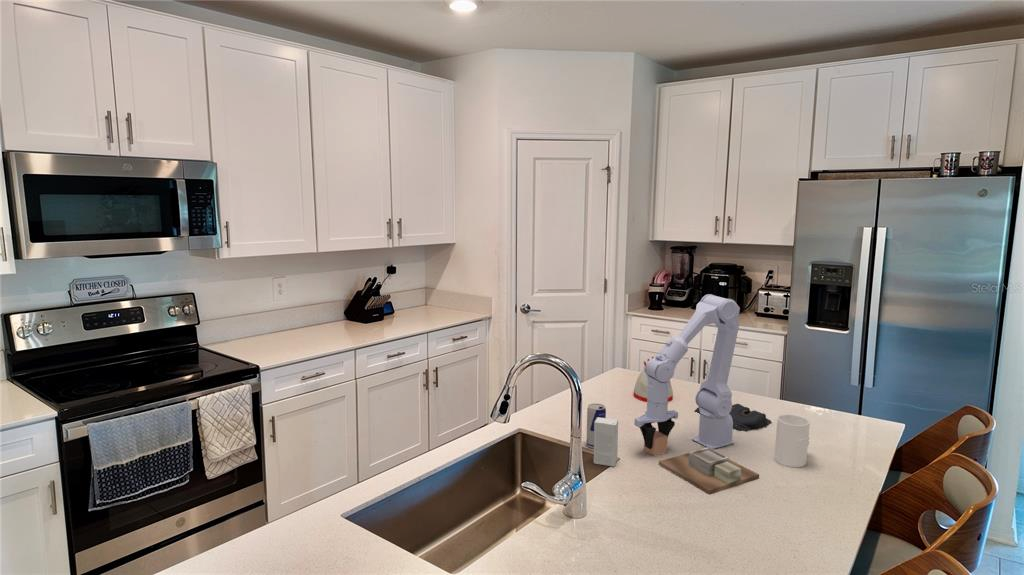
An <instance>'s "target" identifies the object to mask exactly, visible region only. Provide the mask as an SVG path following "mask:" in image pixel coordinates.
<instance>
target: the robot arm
mask: <svg viewBox="0 0 1024 575" xmlns="http://www.w3.org/2000/svg"><path fill="white" fill-rule="evenodd" d="M740 310H741V308H740V306H739V305H738V304H737V302H736V301H735V300H734V299H731V298H725V297H721V296H717V295H714V294H712V293H711V294H710V293H709V294H705V295H704V296H702V298H701V299H700V301H698V303H697V304H696V308H695V311H694V313H693V314H692V315H691V317H690V318H689V320H688V321H687V323H686V324H685V326H684V327H683V329H682V330H681V331H680V333H679V334H678V336H675V337H671V338H670V339H668V340H666V341H665V345H664V346H663V347H662V349H661V350H660V351H659V352H658V353H657V354H656V355H655V357H654V358H653V359H652V358H650V359H649V361H648V360H647V362H646V367H645V366H644V367H643V370H644V371H645V373H646V375H647V381H648V391H647V402H646V411H645V412H644V414H642V415H640V416H638V417H635V418H634V423H633V424H634V426H635V427H638V428H639V429H640V432H641V434H642V435H641V436H642V438H643V443H644V442H645V447H647V448H649V449H652V446H653V437H654V433H655V431H658V432H660V433H662V434H664V435H666V436H667V440H668V438H669V435H670V434H671V432H672V429H674V427H675V426H676V422H675V421H673V420H672V419H675V420H677V419H679V412H678V411H676V410H674V409H673V410H668V409H669V408H668V404H669V402H668V388H669V380H670V381H671V379H673V377H674V374H675V370H676V367H677V365H678V364H679V362H680V361H681V360H682V358H683V357H684V356H685V355H686V353H688V350H689V348H688V345H689V343H691V342H692V340H693V339H694V338H695V337H696V336H697V335H698V334H699V333H700V332H701V331H702V329H703V328H704V327H706V325H707V326H708V325H711V324H712V325H713V324H714V325H715V326H716V328H717V333H716V337H715V341H714V347H713V351H712V357H711V360H710V366H709V371H708V375H707V379H706V380H704V381H703V382H701V383H700V387H699V389H698V391H697V392H696V394H695V398H694V400H695V403H696V406H698V407H699V411H700V414H699V423H698V425H699V426H698V436H694V437H692V438H691V440H692V441H694V442H696V443H698V444H700V445H702V446H704V447H705V448H708V447H709V448H711V449H713V450H715V449H718V448H722V447H725V446H729V445H733V444H734V443H735V441H733V430H734V429H733V420H732V417H731V415H730V414H729V413H730V412H731V409H732V405H733V403H732V396H733V393H732V391H731V389H730V388H729V386H728V380H729V376H730V371H731V366H732V362H733V358H734V352H735V347H736V343H737V338H738V332H739V328H740V322H739V315H740ZM655 423H656V425H657V428H656V427H655V426H653V424H655Z"/></svg>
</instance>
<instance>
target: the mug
mask: <svg viewBox="0 0 1024 575" xmlns="http://www.w3.org/2000/svg"><path fill="white" fill-rule="evenodd" d="M775 432H776V434H775V444H774V445H775V447H774V460H775V461H776V462H777V463H779V464H780V465H782V466H786V467H789V468H804V467H805V466H806V465H807V457H808V448H809V447H808V446H809V445H810V441H809V440H810V421H809V420H808V419H807V418H805V417H802V416H799V415H796V414H795V415H794V414H780V415H779V416H777V421H776V431H775Z"/></svg>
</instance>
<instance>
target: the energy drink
mask: <svg viewBox="0 0 1024 575" xmlns="http://www.w3.org/2000/svg"><path fill="white" fill-rule="evenodd" d="M586 410H587V411H586V446H587V447H588V448H589V447H590V449H593V450H594V422H595V420H596V419H597V417H600V418H606V417H607V414H606V413H607V410H606V406H605V405H604V404H601V403H590V404H588V405H587V409H586Z"/></svg>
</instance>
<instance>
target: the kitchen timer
mask: <svg viewBox="0 0 1024 575" xmlns="http://www.w3.org/2000/svg"><path fill="white" fill-rule="evenodd" d="M653 358H655V357H654V356H651V359H653ZM649 360H650V359H649V358H648V359H647V362H648V361H649ZM647 362H646V361H645V360H644V361H643V364H644V367H646V364H647ZM633 388H634V389H633V397H634V398H635V399H637V400H639V401H641V402H643V403H647V391H648V381H647V375H646V373H645V371H644V369H643V370H641V372H640V374H639V375H638V377H637V379H636V383H635V385H634V387H633ZM673 393H674V391H673V387H672V383H671V379H670V380H669V388H668V403H669V402H671V401H672V400H673V396H674V394H673Z"/></svg>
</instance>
